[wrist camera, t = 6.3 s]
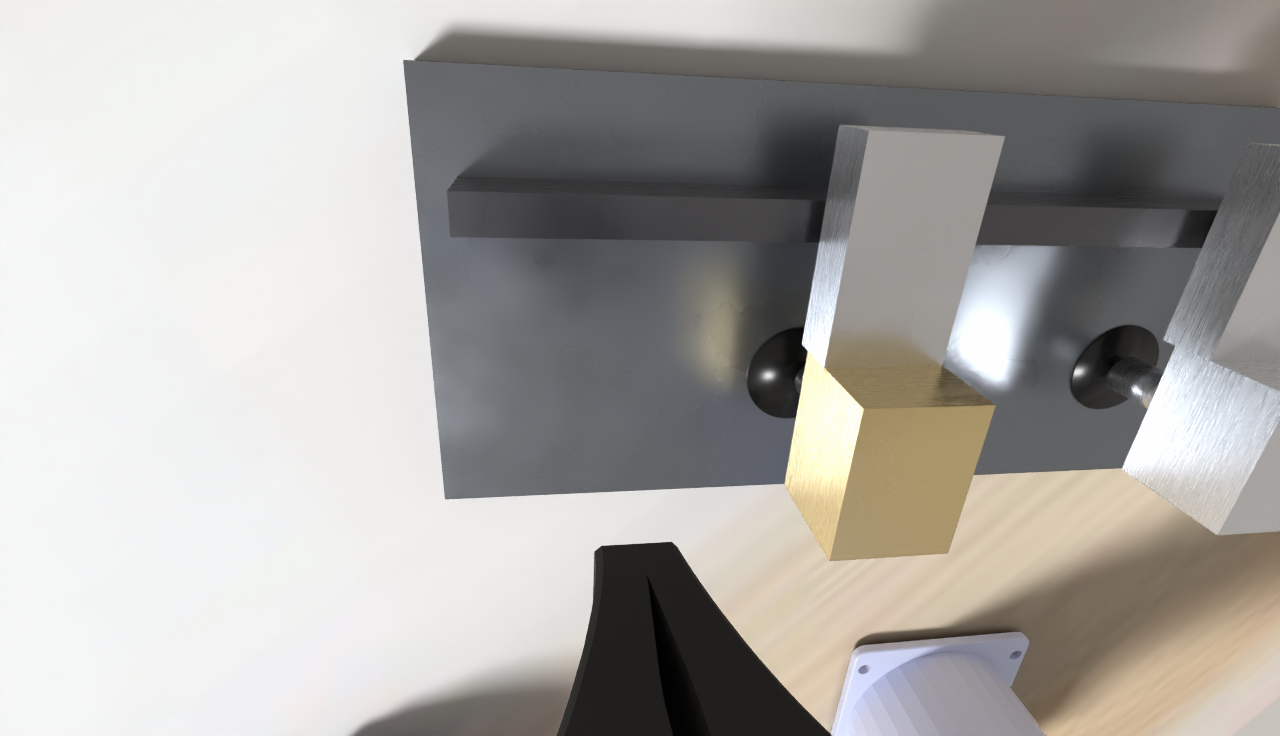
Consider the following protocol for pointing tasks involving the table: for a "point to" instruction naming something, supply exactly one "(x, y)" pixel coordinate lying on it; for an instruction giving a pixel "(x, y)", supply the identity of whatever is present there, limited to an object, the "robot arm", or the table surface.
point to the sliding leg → (890, 344)
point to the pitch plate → (784, 267)
